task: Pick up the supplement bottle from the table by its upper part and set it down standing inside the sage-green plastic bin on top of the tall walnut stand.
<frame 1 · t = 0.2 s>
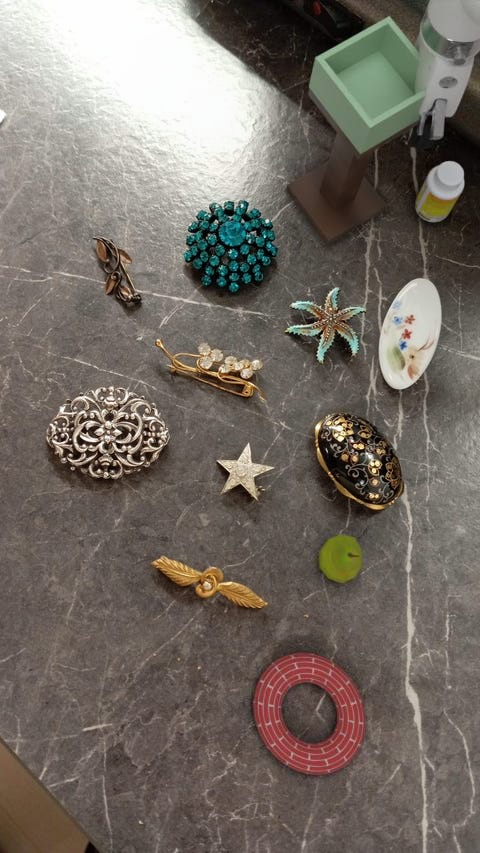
hand: (417, 112, 119), 21 cm above the counter, tool pointing down, fingers open, 9 cm apart
torus: (307, 711, 120), on the counter
fruit: (337, 561, 125), on the counter
stand: (335, 200, 139), on the counter
supplement bottle: (431, 207, 140), on the counter
bin: (370, 99, 114), resting on stand
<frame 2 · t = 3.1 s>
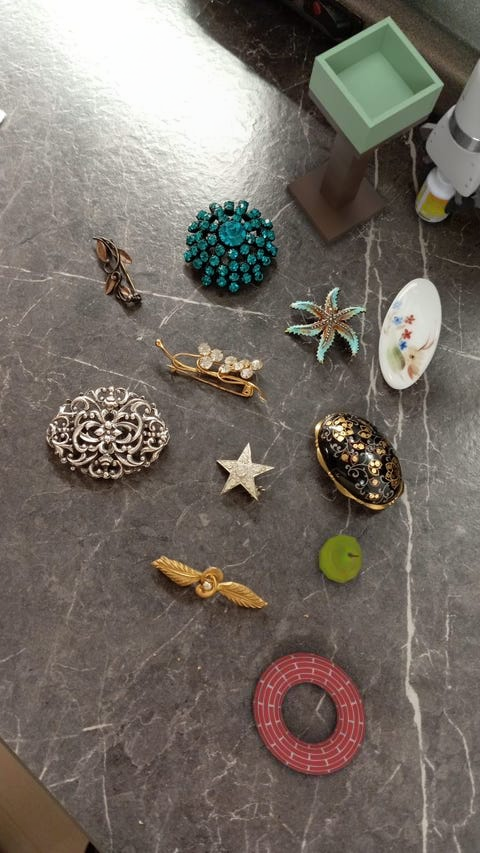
hand: (440, 191, 135), 5 cm above the counter, tool pointing down, fingers closed on supplement bottle, 5 cm apart
supplement bottle: (431, 207, 140), on the counter, touching gripper
everything else where it was.
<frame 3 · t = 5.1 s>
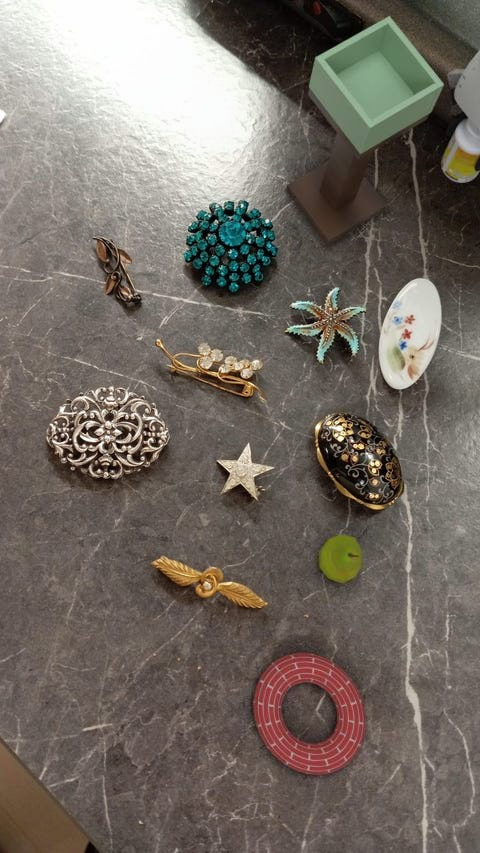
hand: (469, 147, 122), 18 cm above the counter, tool pointing down, fingers closed on supplement bottle, 5 cm apart
supplement bottle: (459, 167, 127), point 13 cm above the counter, touching gripper
everything else where it was.
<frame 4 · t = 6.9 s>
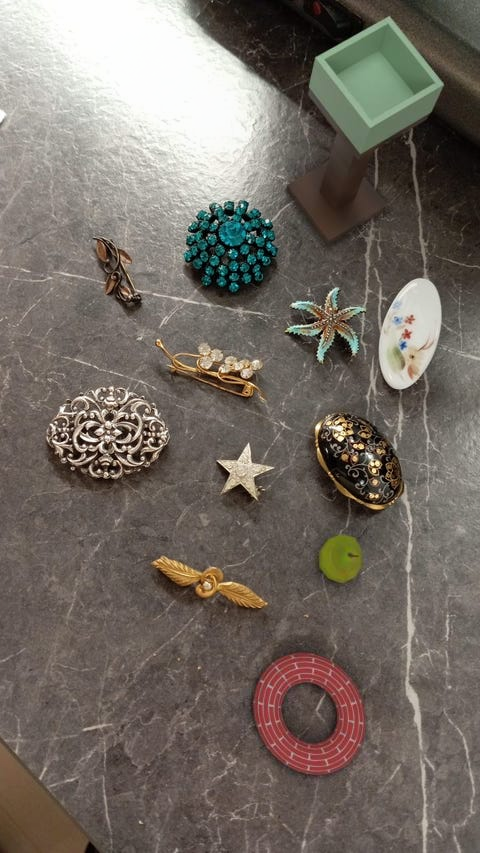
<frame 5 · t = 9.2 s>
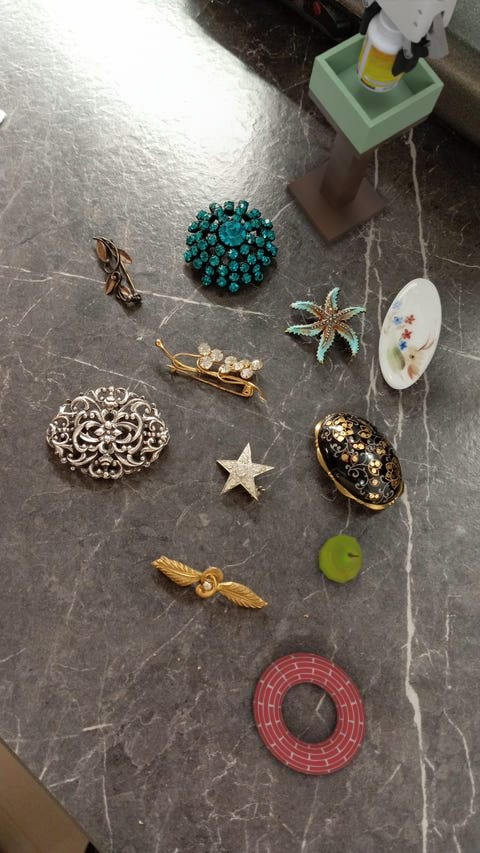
hand: (386, 48, 104), 36 cm above the counter, tool pointing down, fingers closed on supplement bottle, 5 cm apart
supplement bottle: (377, 75, 109), point 31 cm above the counter, touching gripper
everything else where it was.
when the fingers open (32 cm above the counter, at t = 10.8 s): supplement bottle stays where it is, resting on bin.
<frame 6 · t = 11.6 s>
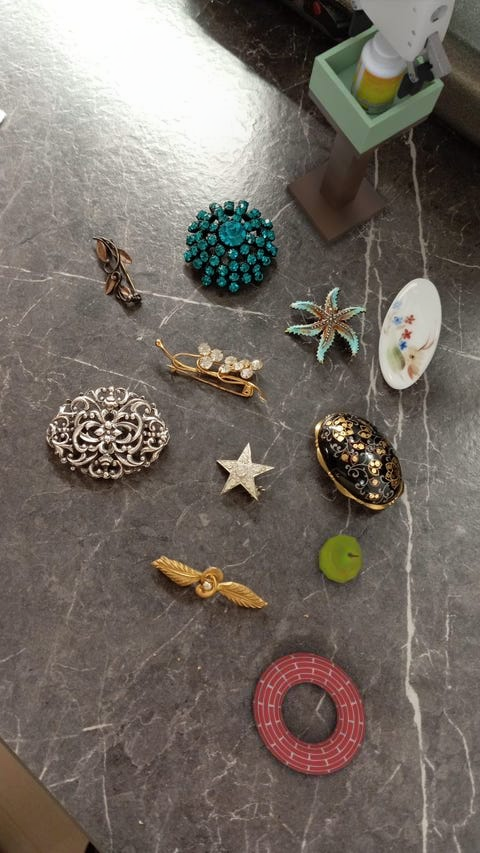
hand: (383, 61, 106), 34 cm above the counter, tool pointing down, fingers open, 9 cm apart
supplement bottle: (371, 96, 113), point 27 cm above the counter, touching bin
everything else where it was.
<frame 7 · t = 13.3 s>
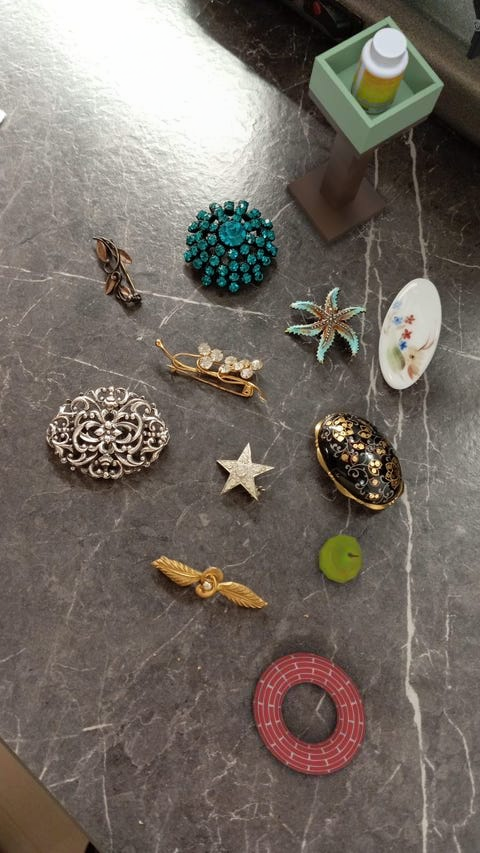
nothing on the counter moved.
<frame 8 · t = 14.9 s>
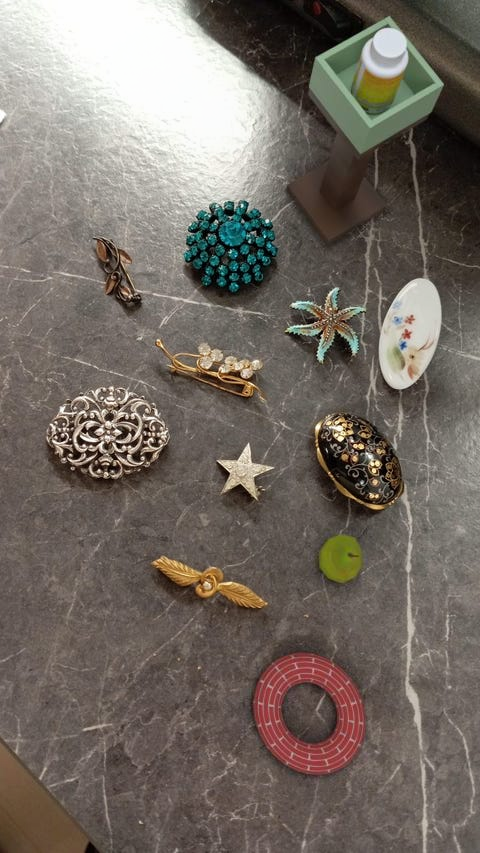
nothing on the counter moved.
at the end: supplement bottle inside the target area on the bin (0.0 cm from its centre), point 0.6 cm above the bin's base; supplement bottle tilted 0°; the gripper is holding nothing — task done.
